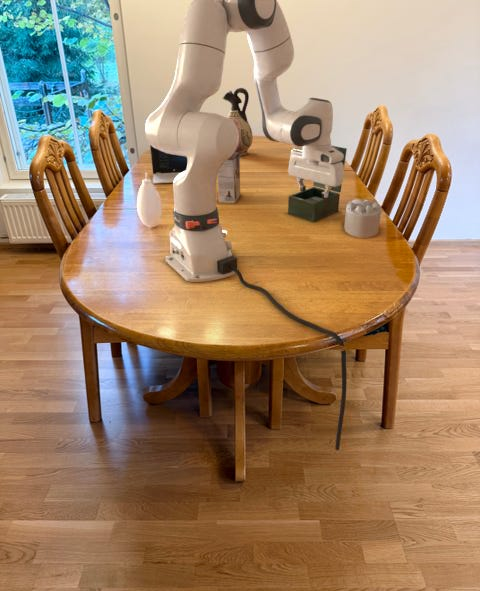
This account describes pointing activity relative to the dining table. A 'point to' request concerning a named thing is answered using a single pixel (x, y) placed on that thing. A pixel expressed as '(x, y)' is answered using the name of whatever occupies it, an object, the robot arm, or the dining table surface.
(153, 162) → the laptop
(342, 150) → the case lid
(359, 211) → the lumpy-topped squat cylinder
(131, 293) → the dining table surface
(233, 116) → the ceramic jug
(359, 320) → the dining table surface
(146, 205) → the sauce bottle
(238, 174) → the coffee box
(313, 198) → the dark grey block
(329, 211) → the case
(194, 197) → the robot arm
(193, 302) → the dining table surface
